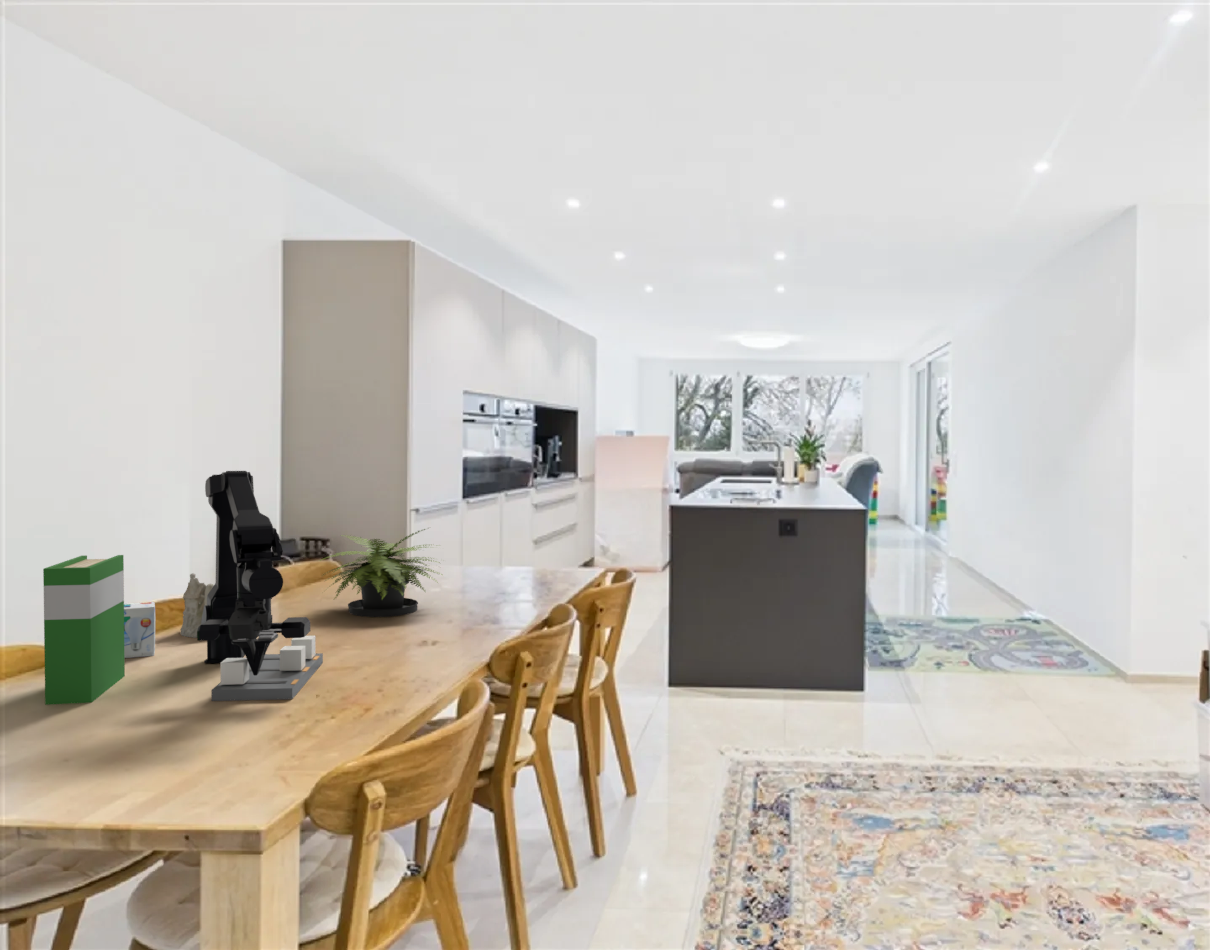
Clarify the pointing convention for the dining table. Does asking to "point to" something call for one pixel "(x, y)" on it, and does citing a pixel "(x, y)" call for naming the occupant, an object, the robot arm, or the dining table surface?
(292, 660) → the handle mid
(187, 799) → the dining table surface
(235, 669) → the handle
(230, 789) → the dining table surface
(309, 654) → the handle far
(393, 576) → the fern plant
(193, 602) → the grey rough lump
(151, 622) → the light bulb box
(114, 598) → the hardback book
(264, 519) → the robot arm
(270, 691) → the breaker panel
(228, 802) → the dining table surface
